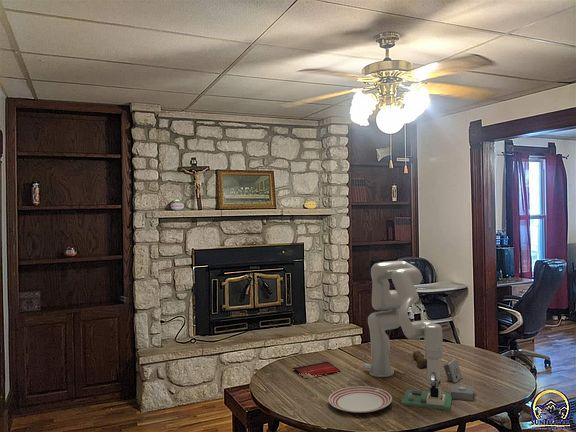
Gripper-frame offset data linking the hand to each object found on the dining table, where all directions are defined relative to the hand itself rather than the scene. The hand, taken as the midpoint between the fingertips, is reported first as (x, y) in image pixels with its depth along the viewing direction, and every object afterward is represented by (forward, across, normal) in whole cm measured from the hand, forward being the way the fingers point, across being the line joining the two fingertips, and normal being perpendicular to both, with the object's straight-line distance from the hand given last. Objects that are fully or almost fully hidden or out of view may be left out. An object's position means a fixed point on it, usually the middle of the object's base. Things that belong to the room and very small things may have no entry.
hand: (435, 392), depth 210 cm
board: (+5, -3, -4) cm, 7 cm away
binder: (+6, -27, -63) cm, 69 cm away
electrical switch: (+5, -32, +5) cm, 33 cm away
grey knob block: (+5, -12, +10) cm, 16 cm away
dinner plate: (+5, +9, -31) cm, 33 cm away
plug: (+4, 0, 0) cm, 4 cm away
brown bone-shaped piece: (+5, -51, -11) cm, 53 cm away
